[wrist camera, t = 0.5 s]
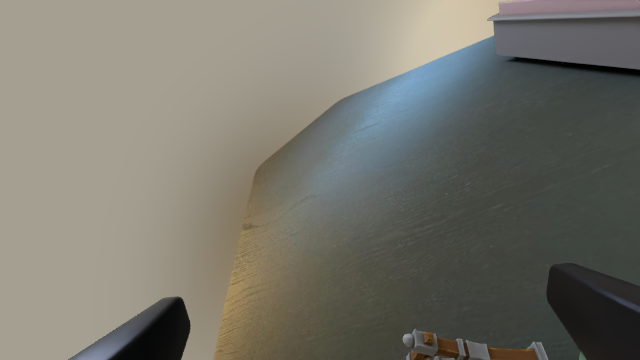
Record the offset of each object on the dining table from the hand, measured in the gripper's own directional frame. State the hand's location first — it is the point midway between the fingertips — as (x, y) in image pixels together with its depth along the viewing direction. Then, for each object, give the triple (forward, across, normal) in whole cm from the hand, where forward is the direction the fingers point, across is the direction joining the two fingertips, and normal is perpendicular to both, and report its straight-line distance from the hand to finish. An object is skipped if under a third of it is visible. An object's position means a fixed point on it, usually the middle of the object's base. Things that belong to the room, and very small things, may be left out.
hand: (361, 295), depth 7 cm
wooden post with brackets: (+8, -7, +14) cm, 18 cm away
